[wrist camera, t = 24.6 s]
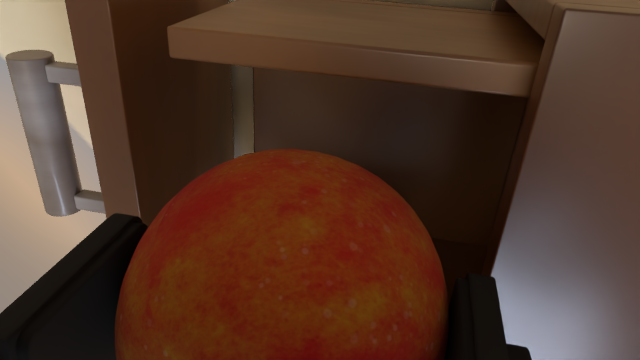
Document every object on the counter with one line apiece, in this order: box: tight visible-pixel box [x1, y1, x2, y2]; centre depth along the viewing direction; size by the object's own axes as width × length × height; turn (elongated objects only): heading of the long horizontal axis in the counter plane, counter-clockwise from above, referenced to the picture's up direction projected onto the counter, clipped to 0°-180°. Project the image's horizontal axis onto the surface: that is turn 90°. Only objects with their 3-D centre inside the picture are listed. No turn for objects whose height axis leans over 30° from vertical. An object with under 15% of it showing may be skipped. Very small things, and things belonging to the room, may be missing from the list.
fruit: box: [115, 149, 449, 360], centre depth 10 cm, size 7×7×8 cm
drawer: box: [6, 0, 545, 305], centre depth 17 cm, size 18×11×8 cm, turn 87°
